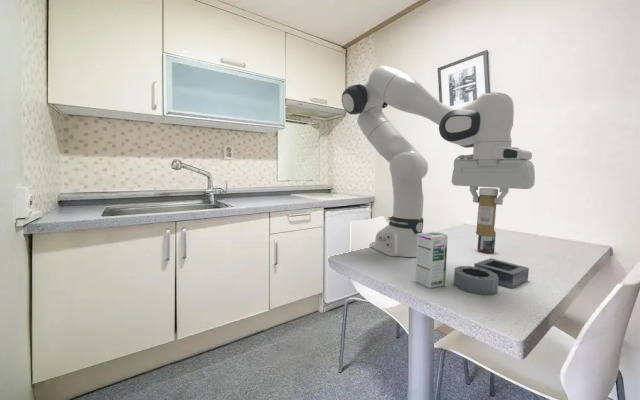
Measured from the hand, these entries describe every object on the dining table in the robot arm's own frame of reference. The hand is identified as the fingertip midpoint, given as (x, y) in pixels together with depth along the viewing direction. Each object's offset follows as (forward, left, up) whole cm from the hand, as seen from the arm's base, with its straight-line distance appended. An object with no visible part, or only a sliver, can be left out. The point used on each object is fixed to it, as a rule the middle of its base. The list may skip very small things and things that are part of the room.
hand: (487, 203), depth 77 cm
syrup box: (-8, -13, -23) cm, 28 cm away
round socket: (0, -4, -23) cm, 24 cm away
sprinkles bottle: (0, 0, -9) cm, 9 cm away
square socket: (+1, +9, -23) cm, 25 cm away
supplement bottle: (-16, +36, -23) cm, 45 cm away
